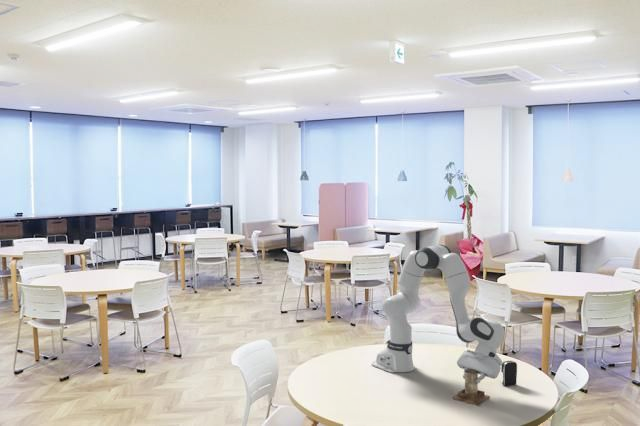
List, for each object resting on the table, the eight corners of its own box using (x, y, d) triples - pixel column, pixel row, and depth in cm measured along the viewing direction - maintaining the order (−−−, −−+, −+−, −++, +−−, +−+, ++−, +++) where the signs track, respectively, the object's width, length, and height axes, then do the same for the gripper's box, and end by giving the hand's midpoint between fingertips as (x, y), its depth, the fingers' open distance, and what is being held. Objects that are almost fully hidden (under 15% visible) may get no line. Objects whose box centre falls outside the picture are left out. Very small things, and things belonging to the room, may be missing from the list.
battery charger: (511, 382, 279) (512, 359, 278) (517, 385, 275) (517, 361, 274) (499, 384, 276) (500, 360, 276) (504, 386, 273) (505, 363, 272)
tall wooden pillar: (464, 396, 259) (464, 370, 259) (469, 393, 262) (469, 368, 261) (472, 398, 256) (472, 372, 256) (477, 396, 259) (477, 370, 258)
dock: (452, 398, 259) (452, 392, 258) (465, 390, 268) (465, 385, 268) (477, 405, 251) (477, 399, 251) (489, 397, 260) (489, 391, 260)
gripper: (462, 345, 270) (448, 370, 265) (500, 356, 254) (486, 383, 249) (468, 352, 273) (454, 377, 268) (506, 364, 258) (492, 390, 252)
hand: (470, 380), depth 258 cm, fingers open, 5 cm apart
